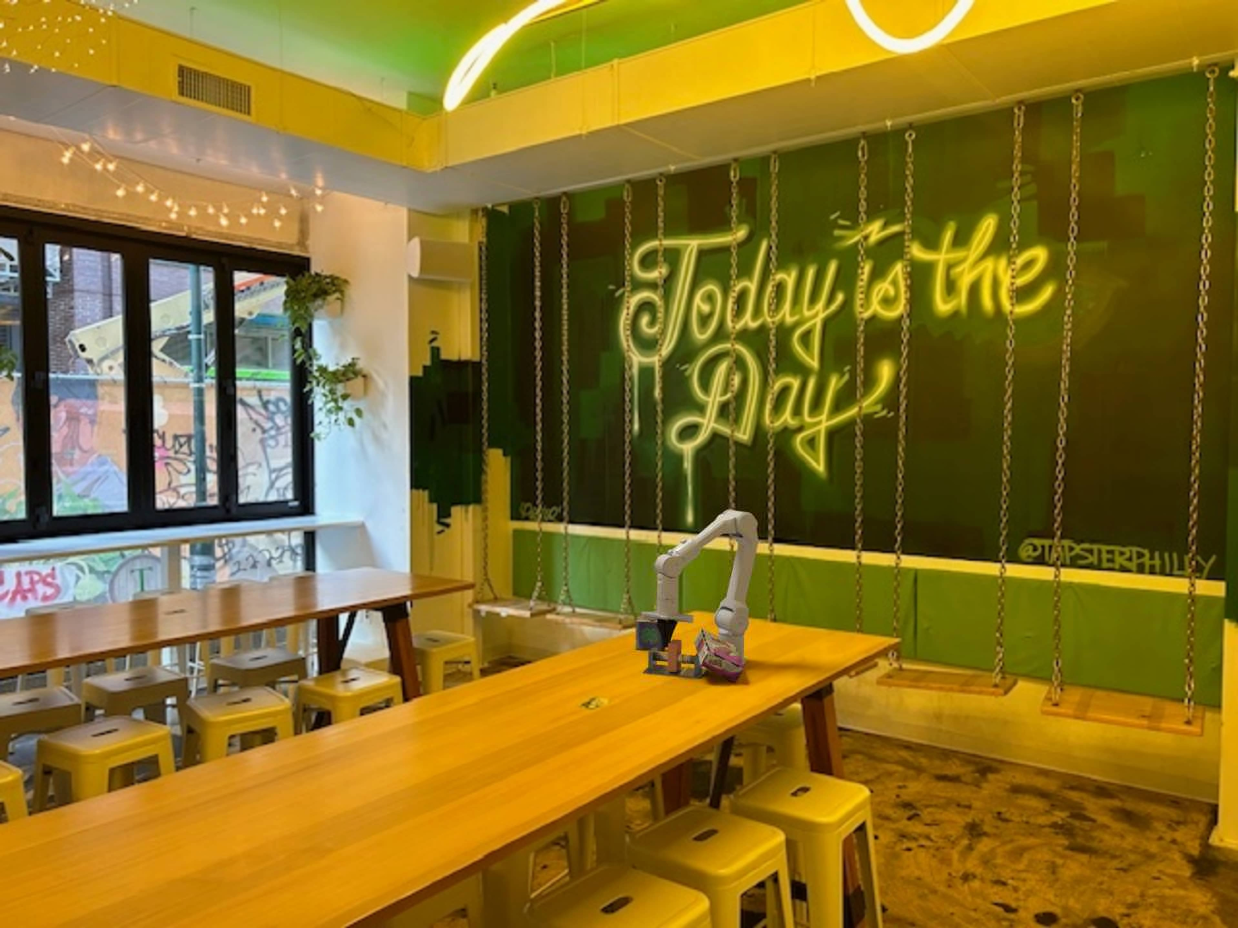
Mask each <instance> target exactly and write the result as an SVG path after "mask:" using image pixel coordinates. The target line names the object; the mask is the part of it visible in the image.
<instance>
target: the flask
mask: <svg viewBox="0 0 1238 928" xmlns="http://www.w3.org/2000/svg"><path fill="white" fill-rule="evenodd" d="M656 623H657V620H648V619H645V620H641V619H636V620H635V650H638V651H647V652H649V651H650V650H651V649H652V648H657V652H660V653H665V650H666V648H665V647H664V646H663V641H662V637H661V634H660V632H659V629H658V627H657V625H656Z"/></svg>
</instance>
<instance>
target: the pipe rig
mask: <svg viewBox="0 0 1238 928" xmlns="http://www.w3.org/2000/svg"><path fill="white" fill-rule="evenodd" d="M647 654H648V659H647V660H648V661H647V668H645V669H644V670H643V671H642V674H647V675H658V676H667V677H669V676H670V677H677V678H687V679H688V678H689V679H690V678H691V679H701V678H702V677H703V676H704V675H705V673H706V672H707V670H708V669H707V668H703V666H701V664H700V661H699V657H698V654H697V653H696V654H695V655H692V654H685V653H684V654H683V653H681V654H678V662H677V663H681V665H683V664H684V665H686V664H687V665H693V667H690V666H681V667H680V668H679V669H678V671H677V672H671V671H668V664H658V662H666V663H668V652H660V651H657V648H652V649H651V650H650V651H647Z"/></svg>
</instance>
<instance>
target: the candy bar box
mask: <svg viewBox="0 0 1238 928" xmlns="http://www.w3.org/2000/svg"><path fill="white" fill-rule="evenodd" d="M718 636H719V635H716V634H714V633H711V632H710V631H708V630H706V629H704V628H701V629H700V631H699V633H698V635H697V636H696V638H695V640H694V641H693V644H694V647H695V651H696V654H698V657H699V661H700V664H701V666H702V668H704V669H707V670H709V671H711V672H713V673H716V674H718V675H720V676H721V677H723V678H726V679H728V680H729V681H732V682H734V683H737V682H738V681H739V679H740V676H741V675H742V674H743V671H744V670H745V667H744V666H743V664H742V661H741V659H740V656H739V654H738V651H737V649H736V646H735V645H734V644H732V643H730V642H728V641H726V640H724V639H722V638H720V637H718Z"/></svg>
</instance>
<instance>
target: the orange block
mask: <svg viewBox="0 0 1238 928" xmlns="http://www.w3.org/2000/svg"><path fill="white" fill-rule="evenodd" d="M667 653H668V662H667V665H668V671H671V672H677V671H678V669H679V668H680V667H682V663H677V662H678V654H682V639H677V638H673V639H671V642H670V643H668V648H667Z"/></svg>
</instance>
